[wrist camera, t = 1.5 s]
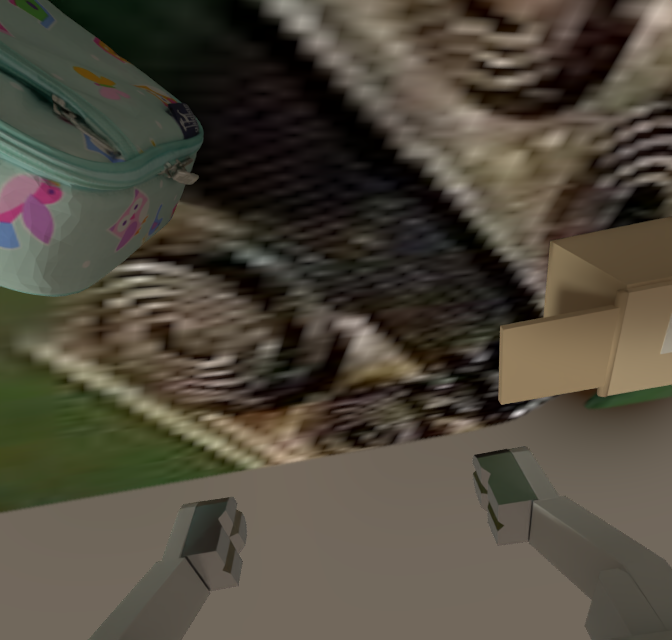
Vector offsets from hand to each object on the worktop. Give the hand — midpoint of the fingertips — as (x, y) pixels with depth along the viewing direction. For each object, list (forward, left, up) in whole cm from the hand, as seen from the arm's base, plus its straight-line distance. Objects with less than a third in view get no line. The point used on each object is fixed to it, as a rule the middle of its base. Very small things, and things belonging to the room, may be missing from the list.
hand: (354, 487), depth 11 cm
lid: (-13, +23, -18) cm, 32 cm away
